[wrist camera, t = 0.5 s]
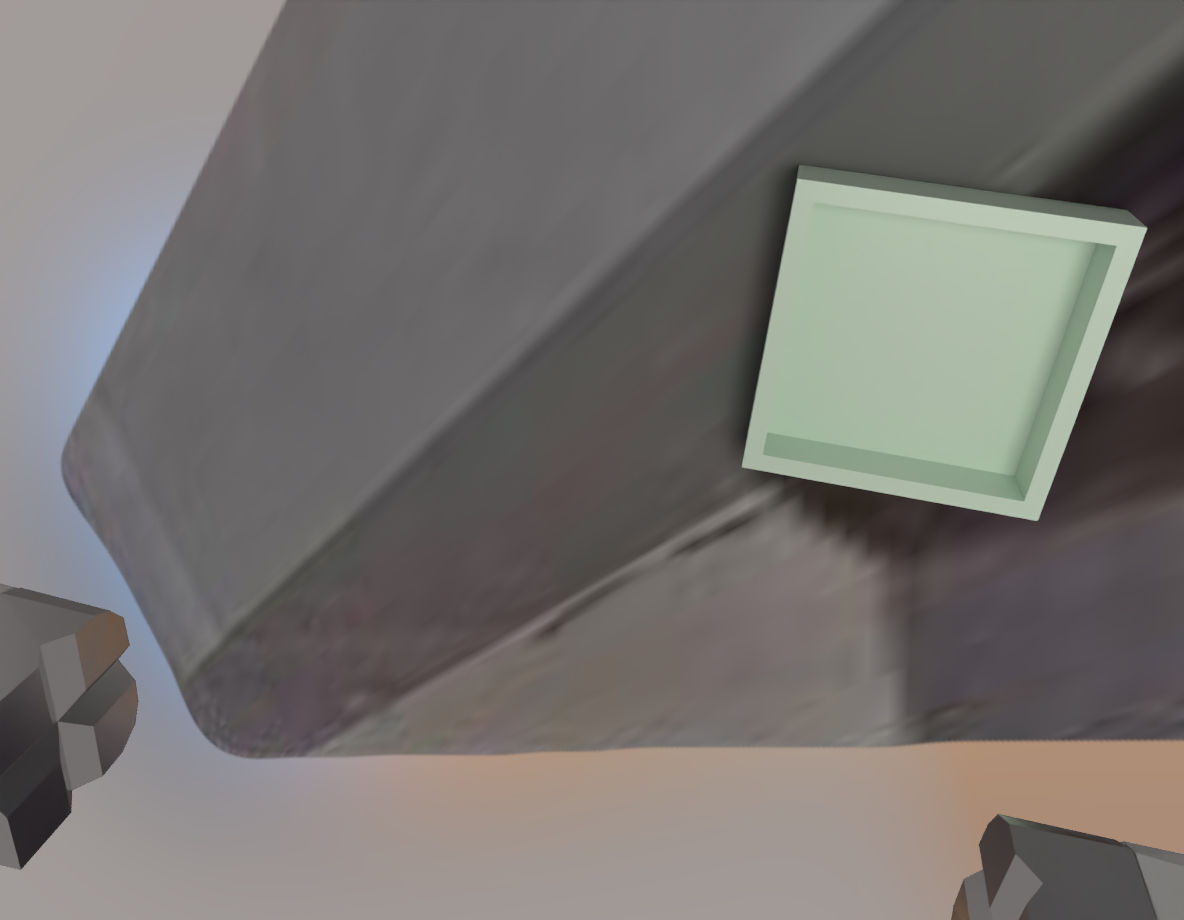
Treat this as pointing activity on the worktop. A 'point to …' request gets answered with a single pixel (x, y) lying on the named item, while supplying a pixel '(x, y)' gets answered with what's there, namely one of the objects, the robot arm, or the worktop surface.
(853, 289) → the tray
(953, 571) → the worktop surface
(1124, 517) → the worktop surface
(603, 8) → the worktop surface
